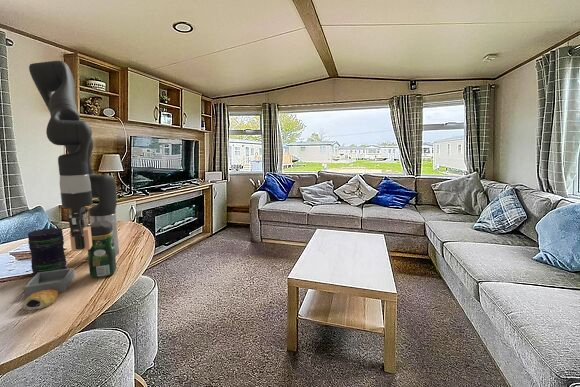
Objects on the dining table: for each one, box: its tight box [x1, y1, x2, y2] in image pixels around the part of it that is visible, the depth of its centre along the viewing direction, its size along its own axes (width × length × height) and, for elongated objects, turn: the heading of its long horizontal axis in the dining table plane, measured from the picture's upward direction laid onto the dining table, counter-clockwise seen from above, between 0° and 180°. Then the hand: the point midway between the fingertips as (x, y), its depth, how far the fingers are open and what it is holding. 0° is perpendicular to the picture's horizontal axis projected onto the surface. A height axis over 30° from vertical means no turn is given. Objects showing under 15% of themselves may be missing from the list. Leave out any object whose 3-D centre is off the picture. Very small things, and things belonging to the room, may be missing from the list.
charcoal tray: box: [23, 267, 76, 298], centre depth 101 cm, size 12×10×3 cm
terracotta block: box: [69, 226, 92, 253], centre depth 94 cm, size 4×4×6 cm
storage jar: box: [27, 227, 68, 277], centre depth 112 cm, size 10×10×15 cm
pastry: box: [21, 289, 59, 311], centre depth 91 cm, size 9×7×4 cm
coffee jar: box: [87, 221, 117, 279], centre depth 110 cm, size 10×8×19 cm
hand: (82, 246), depth 95 cm, fingers closed on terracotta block, 4 cm apart
